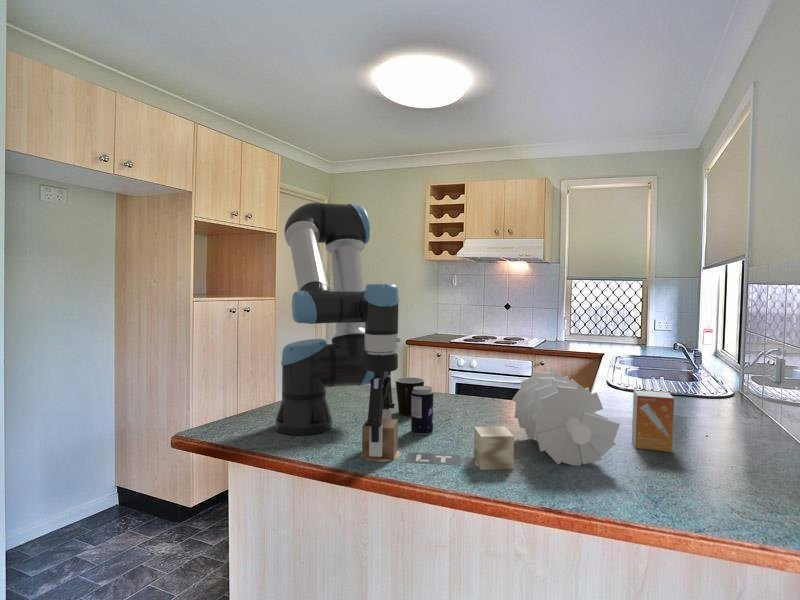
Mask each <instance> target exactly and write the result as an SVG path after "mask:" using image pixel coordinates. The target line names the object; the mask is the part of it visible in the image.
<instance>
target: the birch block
mask: <svg viewBox="0 0 800 600" xmlns="http://www.w3.org/2000/svg"><path fill="white" fill-rule="evenodd" d="M473 429H474V431H473V432H474V433H473V444H474V445H473V457H474V459H475V461H476V462H477V464H478V466H479V468H478V469H480V471H481V470H483V471H484V470H503V469H514V459H515V457H514V455H515V453H514V452H515V435H513V434H512V432H511V431H510V430H509V429H508V427H506V426H474V427H473Z"/></svg>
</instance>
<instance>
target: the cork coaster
mask: <svg viewBox="0 0 800 600" xmlns="http://www.w3.org/2000/svg"><path fill="white" fill-rule="evenodd" d="M401 455H402V454H401V451H400V450H398V449H397V452H396V455H395V457H394V460H398V459H399V458H400V457H401ZM360 456H361V458H362V451H361V452H360ZM363 459H364V460H367V461H370V462H375V463H377V462H378V463H380V462H381V463H382V462H391V461H394V460H388V459H368V458H363Z"/></svg>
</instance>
